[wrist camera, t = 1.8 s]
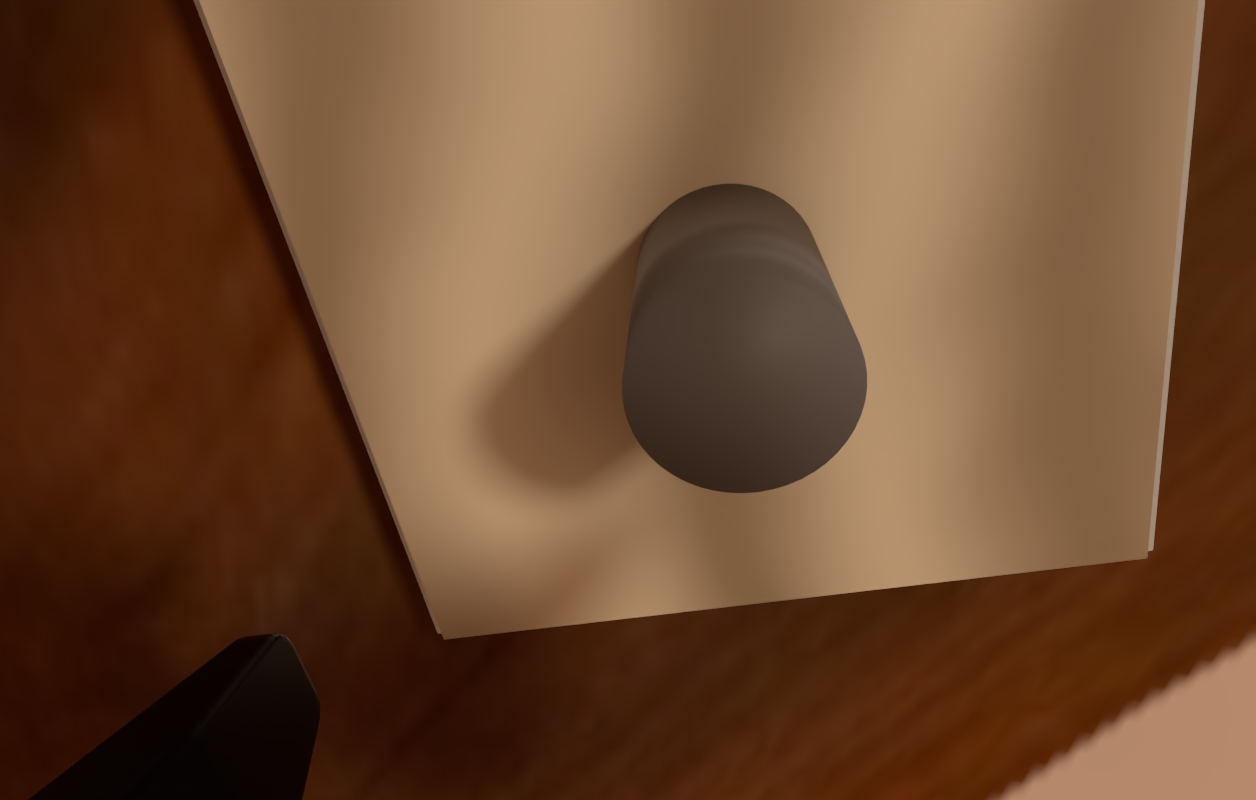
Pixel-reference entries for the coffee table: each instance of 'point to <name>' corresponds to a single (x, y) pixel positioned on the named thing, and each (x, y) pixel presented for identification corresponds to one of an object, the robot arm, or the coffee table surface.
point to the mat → (1171, 317)
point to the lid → (733, 283)
